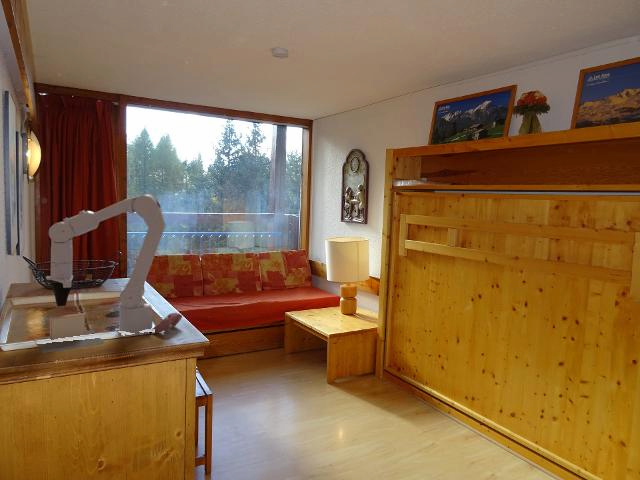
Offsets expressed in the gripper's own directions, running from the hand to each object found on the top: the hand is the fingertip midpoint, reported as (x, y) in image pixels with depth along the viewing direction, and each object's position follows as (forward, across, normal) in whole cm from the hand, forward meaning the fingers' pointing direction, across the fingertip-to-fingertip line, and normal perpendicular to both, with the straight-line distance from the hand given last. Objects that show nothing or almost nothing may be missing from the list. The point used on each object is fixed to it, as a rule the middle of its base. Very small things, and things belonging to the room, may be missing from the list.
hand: (61, 305), depth 141 cm
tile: (+8, +8, 0) cm, 11 cm away
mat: (+9, +10, 0) cm, 13 cm away
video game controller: (+9, +12, +29) cm, 32 cm away
